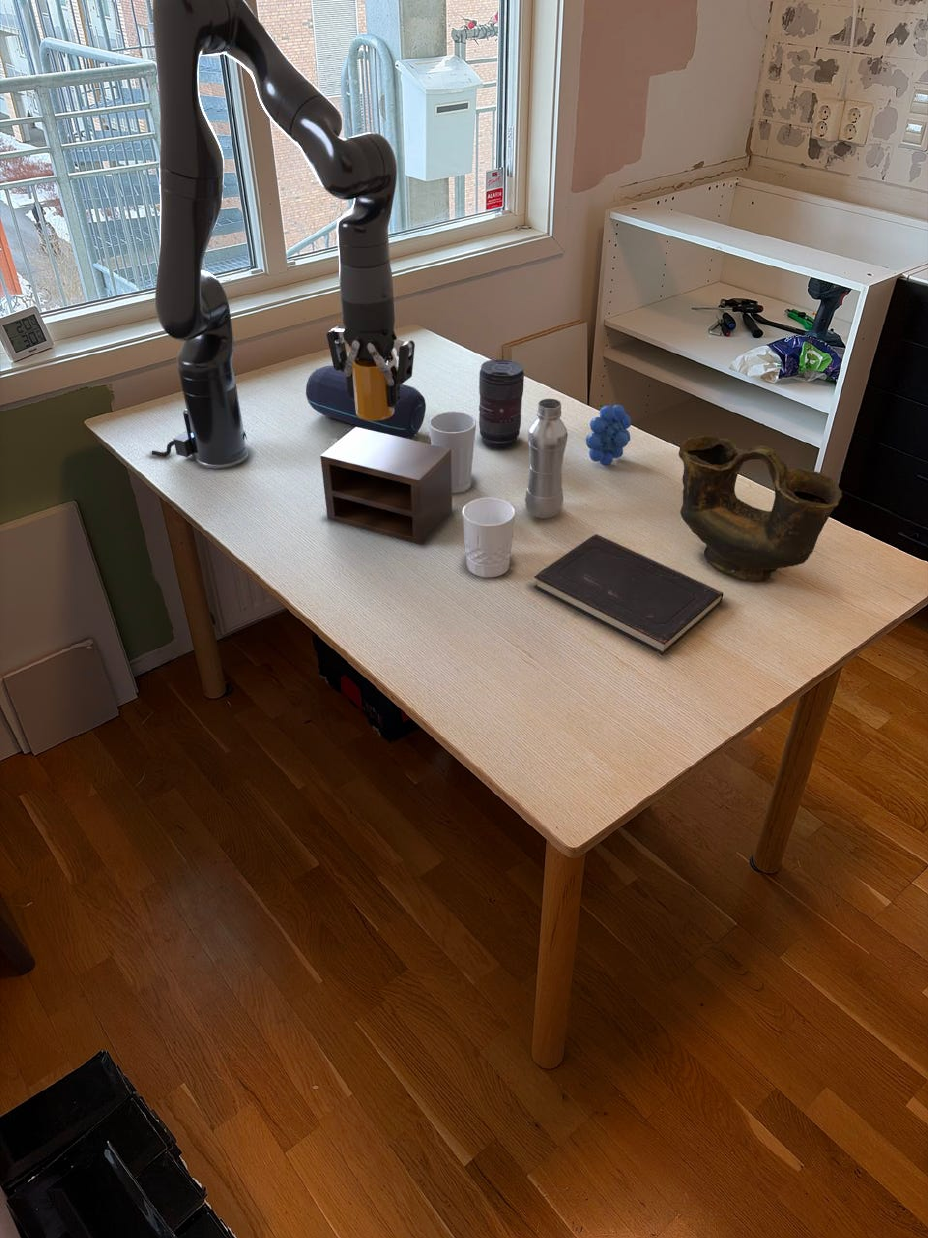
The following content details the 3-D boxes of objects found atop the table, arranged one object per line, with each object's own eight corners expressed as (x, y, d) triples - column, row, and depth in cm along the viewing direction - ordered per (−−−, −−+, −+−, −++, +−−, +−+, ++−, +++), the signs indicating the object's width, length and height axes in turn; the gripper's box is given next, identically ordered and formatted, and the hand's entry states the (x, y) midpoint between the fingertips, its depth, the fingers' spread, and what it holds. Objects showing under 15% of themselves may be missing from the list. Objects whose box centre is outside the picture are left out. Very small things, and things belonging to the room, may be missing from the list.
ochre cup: (348, 416, 142) (343, 363, 136) (368, 400, 146) (365, 348, 141) (381, 423, 140) (378, 370, 134) (401, 407, 144) (398, 355, 139)
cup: (471, 497, 160) (471, 435, 153) (426, 492, 162) (424, 430, 154) (479, 474, 166) (480, 413, 159) (436, 470, 168) (434, 409, 160)
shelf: (327, 518, 155) (319, 455, 148) (360, 488, 163) (355, 426, 155) (421, 545, 149) (419, 480, 141) (452, 512, 157) (451, 448, 149)
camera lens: (521, 451, 173) (524, 376, 164) (478, 451, 173) (479, 375, 164) (520, 431, 179) (523, 357, 170) (478, 430, 179) (479, 357, 170)
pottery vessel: (651, 546, 148) (667, 435, 136) (686, 519, 155) (705, 410, 142) (797, 610, 136) (830, 493, 123) (828, 576, 142) (863, 462, 129)
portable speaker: (436, 430, 180) (434, 382, 173) (406, 451, 173) (404, 402, 167) (334, 400, 190) (330, 353, 184) (303, 418, 184) (297, 371, 177)
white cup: (477, 585, 140) (478, 530, 134) (454, 559, 146) (453, 505, 140) (522, 571, 143) (524, 517, 137) (497, 546, 149) (499, 492, 142)
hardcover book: (662, 655, 128) (664, 642, 126) (533, 588, 140) (534, 575, 138) (722, 603, 137) (724, 590, 135) (596, 543, 149) (597, 531, 148)
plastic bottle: (567, 507, 158) (576, 398, 145) (554, 527, 153) (561, 416, 140) (532, 498, 160) (538, 391, 147) (518, 518, 155) (522, 408, 142)
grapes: (603, 484, 164) (609, 422, 156) (574, 470, 167) (579, 409, 160) (644, 461, 170) (652, 401, 162) (615, 448, 174) (622, 389, 166)
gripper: (423, 291, 131) (427, 400, 142) (338, 276, 136) (347, 383, 147) (397, 308, 126) (403, 420, 137) (309, 292, 131) (321, 402, 142)
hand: (374, 400), depth 142 cm, fingers closed on ochre cup, 6 cm apart
